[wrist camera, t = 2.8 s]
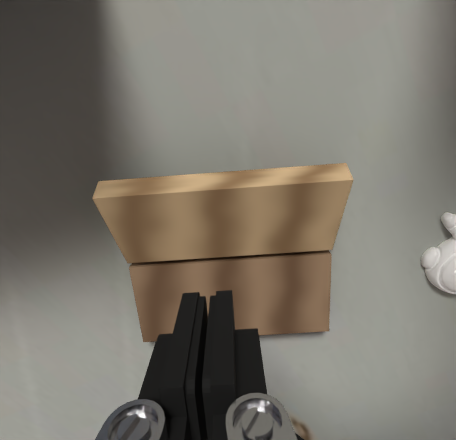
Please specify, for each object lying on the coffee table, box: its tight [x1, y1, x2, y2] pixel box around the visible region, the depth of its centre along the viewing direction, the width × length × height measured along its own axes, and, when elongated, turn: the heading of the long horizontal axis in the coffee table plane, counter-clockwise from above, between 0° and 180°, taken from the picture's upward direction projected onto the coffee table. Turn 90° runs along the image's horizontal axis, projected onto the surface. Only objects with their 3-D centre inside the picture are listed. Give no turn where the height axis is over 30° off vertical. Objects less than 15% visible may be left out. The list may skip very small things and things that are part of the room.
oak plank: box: [92, 163, 353, 263], centre depth 28 cm, size 20×9×2 cm, turn 94°
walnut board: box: [129, 250, 331, 342], centre depth 34 cm, size 20×9×2 cm, turn 94°
